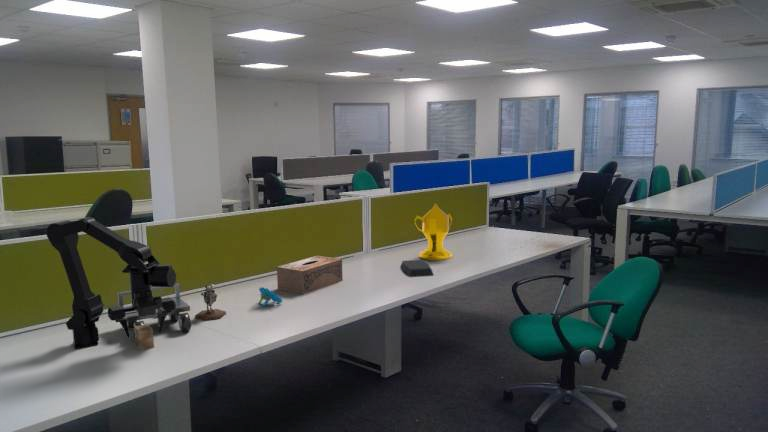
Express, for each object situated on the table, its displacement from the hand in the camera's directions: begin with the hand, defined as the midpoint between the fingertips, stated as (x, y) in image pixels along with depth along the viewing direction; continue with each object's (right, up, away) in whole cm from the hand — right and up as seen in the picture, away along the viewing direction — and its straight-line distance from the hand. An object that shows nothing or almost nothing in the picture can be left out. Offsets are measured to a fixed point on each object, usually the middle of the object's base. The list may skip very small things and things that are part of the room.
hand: (144, 335), depth 176 cm
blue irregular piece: (+31, +3, +42) cm, 52 cm away
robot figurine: (+12, +1, +29) cm, 31 cm away
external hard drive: (+90, +10, +92) cm, 129 cm away
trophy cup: (+101, +16, +123) cm, 160 cm away
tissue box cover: (+43, +7, +70) cm, 82 cm away
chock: (0, -4, +1) cm, 4 cm away
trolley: (-2, -1, +15) cm, 15 cm away
